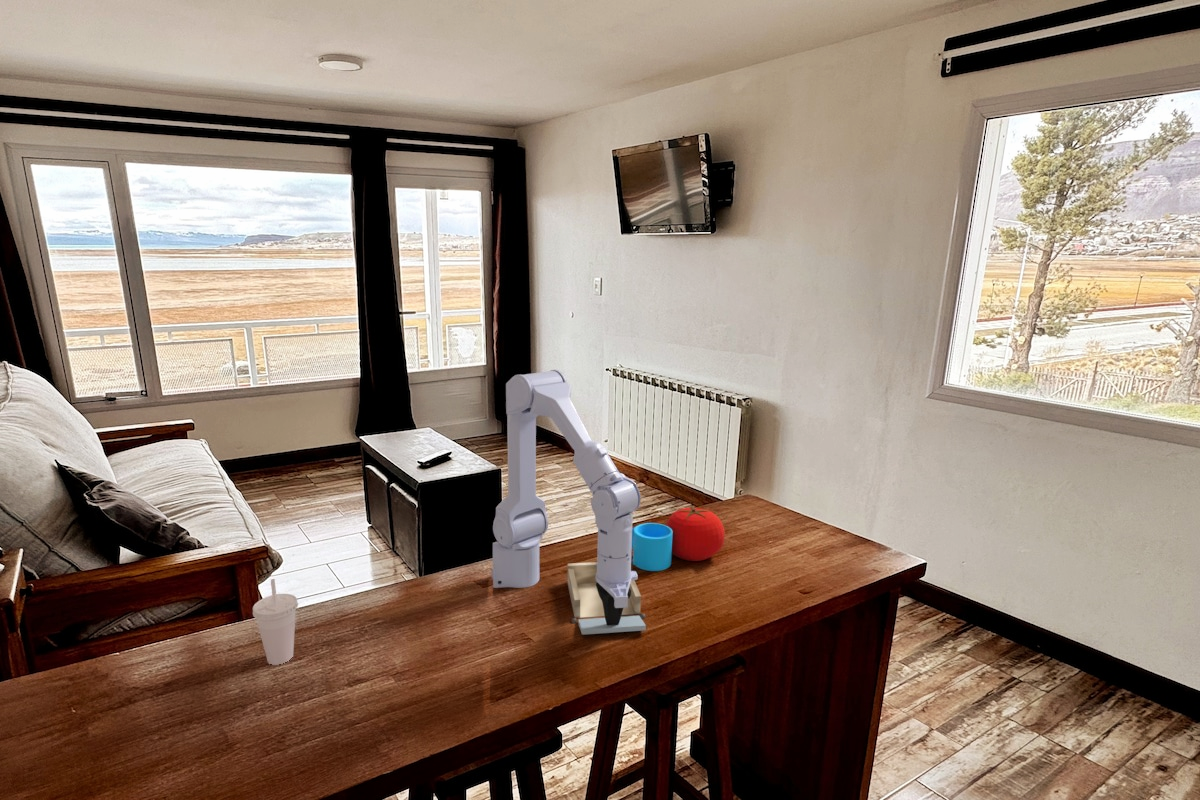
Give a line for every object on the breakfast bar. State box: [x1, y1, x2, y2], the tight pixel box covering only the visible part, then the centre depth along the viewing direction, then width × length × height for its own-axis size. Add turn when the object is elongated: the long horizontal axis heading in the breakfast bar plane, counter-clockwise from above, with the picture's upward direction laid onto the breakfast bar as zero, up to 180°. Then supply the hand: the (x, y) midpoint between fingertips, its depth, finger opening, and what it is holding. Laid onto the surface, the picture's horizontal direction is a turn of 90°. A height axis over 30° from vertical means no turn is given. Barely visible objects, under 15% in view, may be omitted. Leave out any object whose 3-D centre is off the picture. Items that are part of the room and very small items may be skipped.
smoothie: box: [252, 578, 299, 666], centre depth 100 cm, size 6×6×14 cm
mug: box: [632, 522, 673, 572], centre depth 136 cm, size 12×8×8 cm
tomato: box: [665, 505, 726, 562], centre depth 139 cm, size 12×13×11 cm
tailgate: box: [577, 614, 647, 636], centre depth 110 cm, size 11×1×5 cm
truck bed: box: [566, 561, 646, 624], centre depth 119 cm, size 13×15×5 cm
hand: (612, 623), depth 109 cm, fingers closed
